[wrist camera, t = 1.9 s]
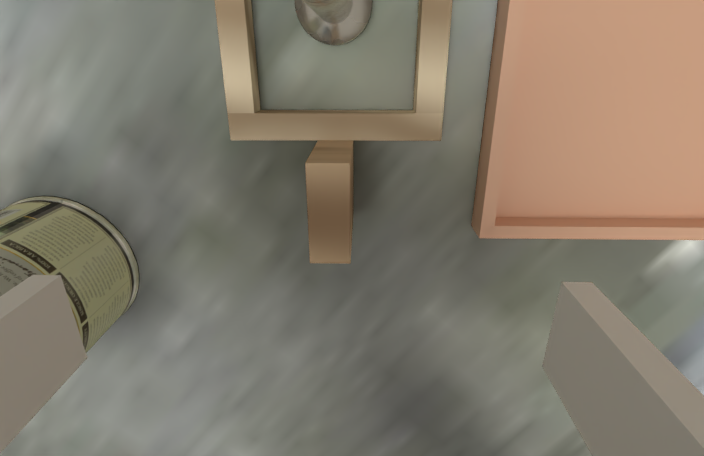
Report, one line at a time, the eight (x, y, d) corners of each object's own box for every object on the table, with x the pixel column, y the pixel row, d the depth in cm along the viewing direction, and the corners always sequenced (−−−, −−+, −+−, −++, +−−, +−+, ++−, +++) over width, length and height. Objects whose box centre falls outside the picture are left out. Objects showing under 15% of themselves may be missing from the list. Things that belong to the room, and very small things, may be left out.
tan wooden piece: (430, 214, 26) (452, 264, 20) (246, 212, 27) (209, 262, 20) (455, -113, 20) (500, -194, 14) (211, -110, 20) (140, -189, 14)
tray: (731, 227, 26) (758, 240, 24) (471, 225, 27) (479, 238, 25) (903, -225, 18) (965, -258, 16) (523, -218, 18) (541, -249, 17)
